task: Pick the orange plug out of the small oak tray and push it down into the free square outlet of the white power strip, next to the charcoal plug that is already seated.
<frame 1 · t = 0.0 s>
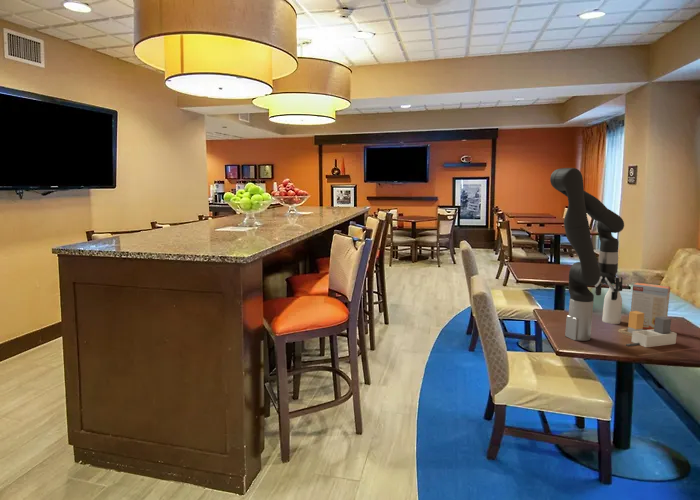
hand: (606, 297, 207), 17 cm above the table, tool pointing down, fingers open, 8 cm apart
milk bottle: (611, 323, 228), on the table
tray: (634, 335, 210), on the table
cracker box: (647, 329, 219), on the table
plug: (634, 334, 210), resting on tray
strip: (653, 343, 199), on the table
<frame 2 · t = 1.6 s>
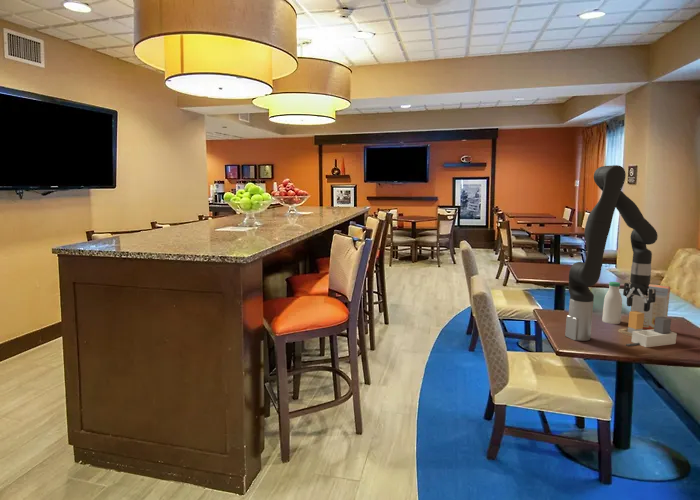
hand: (637, 308, 208), 12 cm above the table, tool pointing down, fingers open, 8 cm apart
nothing on the table moved.
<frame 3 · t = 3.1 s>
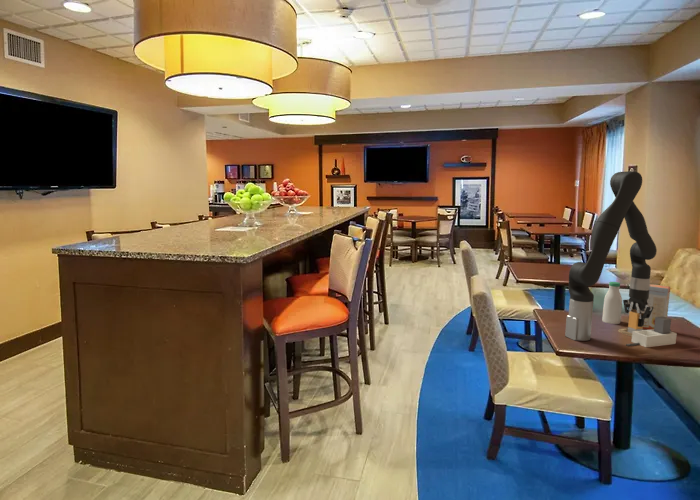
hand: (635, 324, 209), 5 cm above the table, tool pointing down, fingers closed on plug, 4 cm apart
plug: (634, 334, 210), point 1 cm above the table, touching gripper, tray
everything else where it was.
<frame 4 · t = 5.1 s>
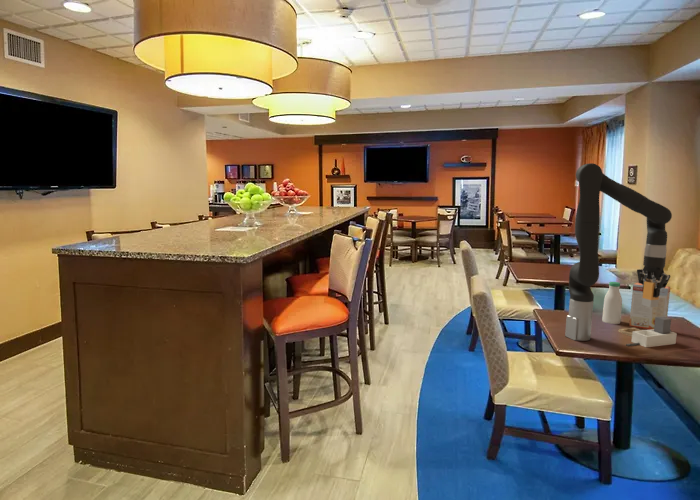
hand: (650, 295, 195), 21 cm above the table, tool pointing down, fingers closed on plug, 4 cm apart
plug: (649, 305, 195), point 17 cm above the table, touching gripper
everything else where it was.
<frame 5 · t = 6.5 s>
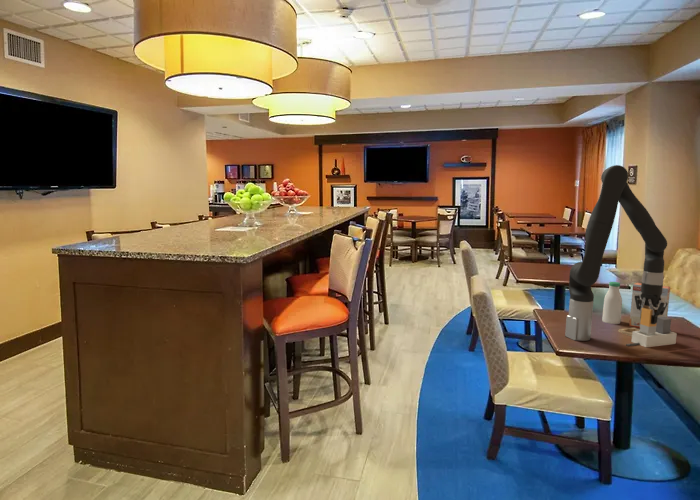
hand: (648, 322, 196), 10 cm above the table, tool pointing down, fingers closed on plug, 4 cm apart
plug: (647, 331, 197), point 6 cm above the table, touching gripper
everything else where it was.
when the fingers open (7 cm above the table, at t = 7.4 s): plug drops 1 cm, resting on strip.
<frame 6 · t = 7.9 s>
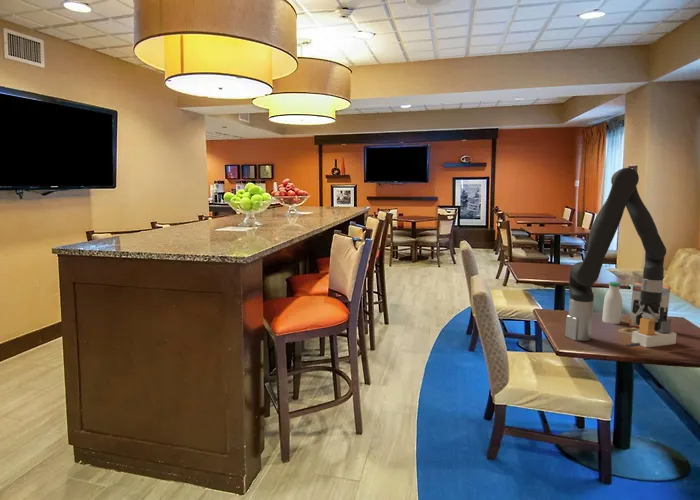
hand: (647, 327, 196), 8 cm above the table, tool pointing down, fingers open, 8 cm apart
plug: (645, 342, 198), point 1 cm above the table, touching strip
everything else where it was.
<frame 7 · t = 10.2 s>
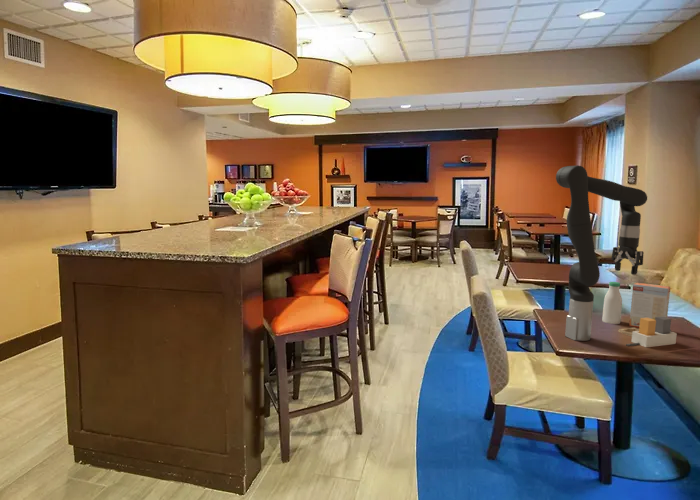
hand: (625, 272, 206), 28 cm above the table, tool pointing down, fingers open, 8 cm apart
nothing on the table moved.
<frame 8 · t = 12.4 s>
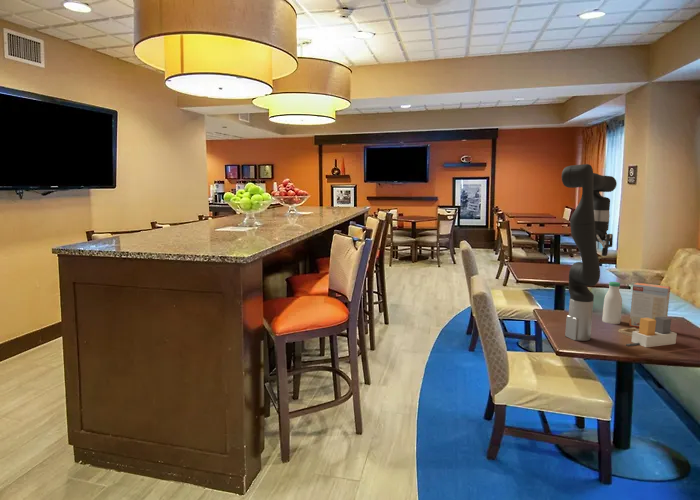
hand: (597, 254, 220), 34 cm above the table, tool pointing down, fingers open, 8 cm apart
nothing on the table moved.
at the end: plug 0.2 cm from the target spot on the strip, point 1.0 cm above the strip's base; plug tilted 0°; the gripper is holding nothing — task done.
